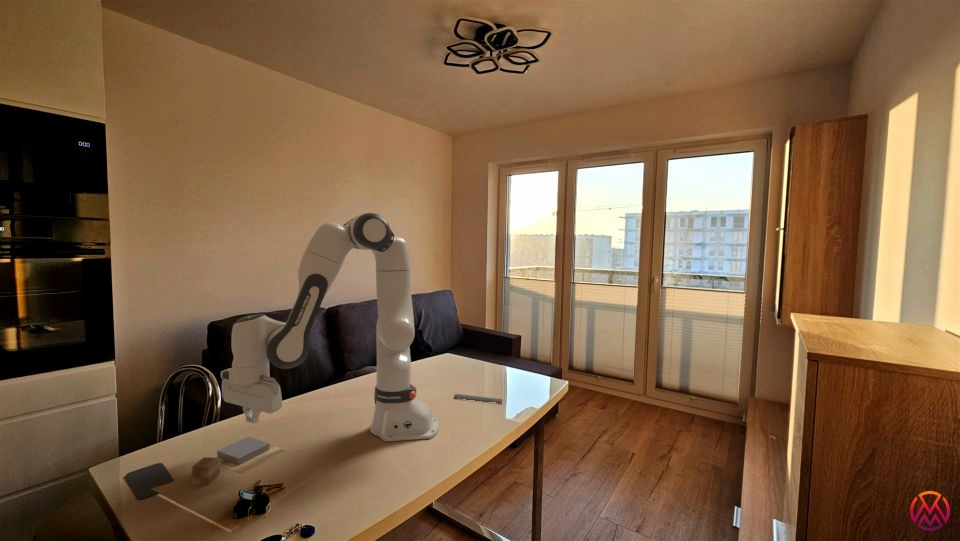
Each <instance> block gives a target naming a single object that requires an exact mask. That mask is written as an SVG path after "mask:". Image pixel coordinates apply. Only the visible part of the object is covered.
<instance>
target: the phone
mask: <svg viewBox="0 0 960 541" xmlns="http://www.w3.org/2000/svg"><path fill="white" fill-rule="evenodd" d="M126 478H127V479H126ZM125 479H126V482H127V481H128V482H129V483H128V482H127V483H128V486H131V487H130V488H131V490H132V492H133V494H134V495H135V497H136V500H138V501H143V500H146V499H149V498H152V497H155V496H157V495H159V494H160V493H159V492H158V491H156V490H154V489H155V488H159V487H161V486H165V485H168V484H171V483H174V482H176V481H175V479H174V477H172V475H171V472H169V471H168V469H167V468H166V466H165V465H164V464H163V463H162V462H157V463H153V464H151V465H150V464H149V465H148V466H144V467H141V468H139V469H135V470H132V471H129V472H127V473H126V474H125Z"/></svg>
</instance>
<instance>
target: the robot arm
mask: <svg viewBox="0 0 960 541" xmlns="http://www.w3.org/2000/svg"><path fill="white" fill-rule="evenodd" d="M353 249H356V250H357V249H358V250H366V251H367V250H369V251H371V252H372V253H373V255H374V258H375V283H376V284H375V285H376V290H375V291H376V302H377V303H376V304H377V315H378V318H377V321H376V334H375V335H376V336H375V337H376V340H375V341H376V343H375V344H376V345H375V346H376V384H375V387H374V393H373V394H374V396H373V398H374V404H375V405H374V413H373V418H372V421H371V425H370V429H369V431H370V432H371V433H372V434H373V435H375V436H376V437H379V438H380V439H381V440H382V441H383V442H397V441H398V442H399V441H409V440H410V441H411V440H413V441H414V440H425V439H426V440H428V439H431V438H433V437H435V436H436V435H437V433H438V431H439V428H440V426H439V425H440V424H439V420H438V418H436V417H435V416H433V412H432V408H431V406H430V405H429V404H428V403H427V402H425V401H424V400H422V399H421V398H420V397H418V396H417V385H415V386H413V385H412V383H411V378H412V377H411V374H412V373H411V370H412V367H411V366H412V358H411V348H410V347H411V345H412V344H413V341H414V339H415V336H416V335H415V334H416V332H415V330H416V329H415V328H416V327H415V317H414V309H413V308H414V306H413V298H412V281H411V280H412V279H411V278H412V276H411V259H410V253H409V252H410V251H409V248H408V243H407V241H406V240H405V239H404V238H403V237H400V236H399V235H395V234H394V233H393V230H392V228H391V226H390V225H389V222H388V221H387V220H386V219H385V217H384V216H382V215H380V214H378V213H374V212H366V213H361V214H359V215H356V216H355V217H354V218H351V219H350V220H348V221H347V222H346V223H344V224H340V223H337V222H332V221H328V222H327V221H326V222H324V223H322V224H321V225H320V226H319V227H318V228H317V230H316V231H315V233H314V235H313V236H312V237H311V239H310V240H309V243H308V244H307V245H306V248H305V250H304V252H303V255H302V258H301V259H300V262H299V268H298V271H297V272H298V273H297V277H298V292H297V297H296V300H295V302H294V305H293V306H292V309H291V312H290V313H289V316H288V318H287V320H286V322H284V321H279V320H276V319H273V318H271V317H269V316H267V315H266V314H264V313H263V314H262V313H257V314H256V313H254V314H249V315H246V316H243V317H240V318H239V319H237V320H236V321H235V322H234V323H233V325H232V328H231V329H232V330H231V344H230V345H231V352H232V356H233V359H232V363H231V367H230V368H227V369H224V370H221V371H220V379H222V380H221V395H222V399H223V401H224V402H225V403H227V404H228V403H229V404H233V405H236V406H240V407H242V412H243V413H244V415H245V422H248V423H250V424H257V423H259V421H260V415H261V413H262V412H263V413H266V414H269V415H271V414H273V413H276V412H278V411H279V410H281V409H282V407H283V398H282V392H281V391H282V390H281V386H280V384H279V382H277V380H276V379H275V378H274V377H271V376H270V375H271V374H270V373H271V372H270V364H271V365H272V366H274V367H276V368H278V369H282V370H283V369H288V370H289V369H292V368H296V367H298V366H300V365H301V364H302V363H303V362H304V361H305V360H306V359H307V358H308V357H309V356H308V355H309V352H310V333H311V330H312V327H313V325H314V321H315V320H316V317H317V316H318V312H319V310H320V308H321V305H322V303H323V300H324V299H325V296H326V295H327V293H328V291H329V290H330V288H331V286H332V285H333V283H334V281H335V280H336V278H337V276H338V274H339V272H340V271H341V269H342V267H343V266H342V265H343V264H344V262H345V259H346V257H347V255H348V254H349V252H350V251H351V250H353Z"/></svg>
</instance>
